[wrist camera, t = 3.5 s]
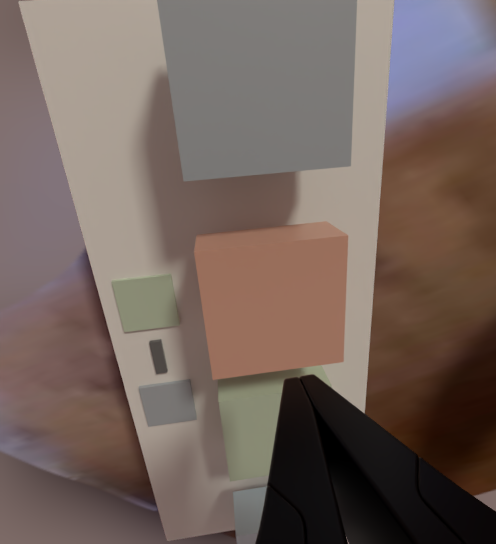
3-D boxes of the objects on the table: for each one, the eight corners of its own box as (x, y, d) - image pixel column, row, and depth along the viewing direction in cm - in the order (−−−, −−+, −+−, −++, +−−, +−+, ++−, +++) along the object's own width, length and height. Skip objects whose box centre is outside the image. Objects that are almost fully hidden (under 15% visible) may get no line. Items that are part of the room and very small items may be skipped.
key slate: (329, -10, 11) (359, -50, 9) (326, 163, 13) (351, 166, 11) (163, -1, 11) (151, -41, 8) (188, 175, 13) (183, 181, 10)
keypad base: (361, 12, 15) (398, -20, 12) (342, 470, 27) (358, 511, 24) (55, 29, 14) (15, -2, 11) (171, 498, 26) (166, 544, 23)
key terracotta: (326, 221, 14) (348, 235, 12) (325, 332, 16) (343, 362, 14) (196, 234, 14) (193, 251, 11) (212, 346, 16) (212, 380, 13)
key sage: (316, 356, 18) (331, 385, 16) (316, 430, 20) (330, 465, 18) (217, 369, 18) (218, 401, 16) (227, 443, 20) (229, 481, 18)
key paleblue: (323, 477, 20) (337, 519, 18) (322, 534, 22) (335, 578, 20) (232, 491, 19) (235, 536, 17) (240, 548, 22) (244, 595, 19)
